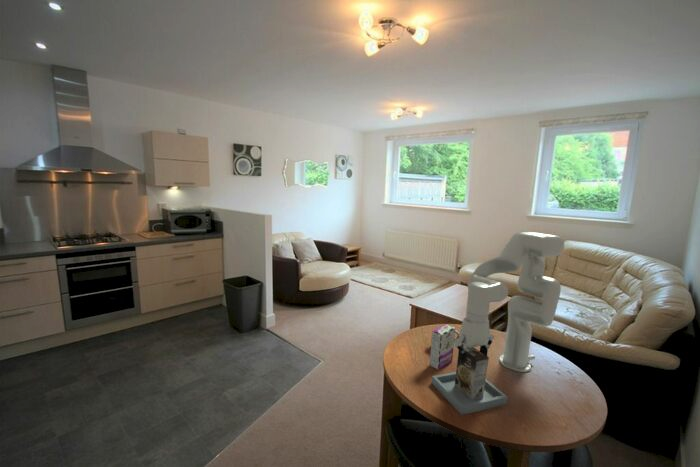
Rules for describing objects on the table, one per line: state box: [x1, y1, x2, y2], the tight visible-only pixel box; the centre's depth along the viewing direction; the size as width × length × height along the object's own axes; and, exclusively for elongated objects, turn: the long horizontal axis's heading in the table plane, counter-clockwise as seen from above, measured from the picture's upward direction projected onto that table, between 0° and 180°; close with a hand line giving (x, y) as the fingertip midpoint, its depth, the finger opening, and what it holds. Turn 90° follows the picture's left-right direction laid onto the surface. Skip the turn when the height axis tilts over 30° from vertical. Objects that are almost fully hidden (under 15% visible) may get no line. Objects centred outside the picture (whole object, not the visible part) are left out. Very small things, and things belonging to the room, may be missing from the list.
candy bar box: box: [429, 323, 456, 371], centre depth 136 cm, size 11×5×16 cm, turn 131°
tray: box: [431, 371, 509, 416], centre depth 118 cm, size 20×18×3 cm
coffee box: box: [455, 346, 490, 400], centre depth 117 cm, size 9×6×16 cm
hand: (472, 358), depth 117 cm, fingers open, 9 cm apart
